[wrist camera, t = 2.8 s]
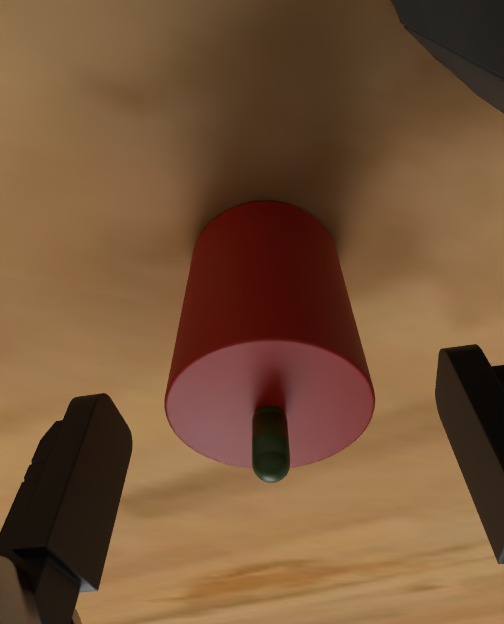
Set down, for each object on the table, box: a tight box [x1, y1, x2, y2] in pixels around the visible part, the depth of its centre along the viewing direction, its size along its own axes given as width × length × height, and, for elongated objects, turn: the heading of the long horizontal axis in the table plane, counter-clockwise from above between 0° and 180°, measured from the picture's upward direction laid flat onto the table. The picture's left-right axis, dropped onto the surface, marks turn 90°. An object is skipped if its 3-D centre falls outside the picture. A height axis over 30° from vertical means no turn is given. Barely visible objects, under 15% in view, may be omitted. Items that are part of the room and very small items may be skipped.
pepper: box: [165, 201, 375, 483], centre depth 12 cm, size 5×5×8 cm
